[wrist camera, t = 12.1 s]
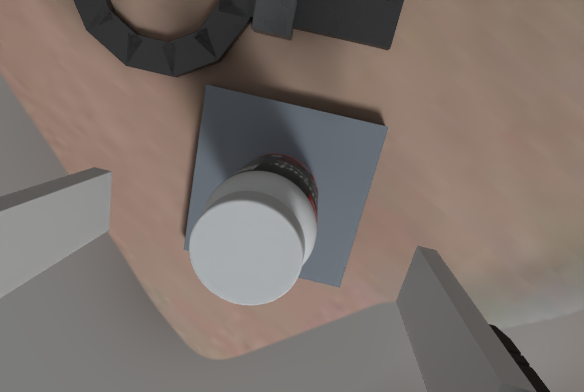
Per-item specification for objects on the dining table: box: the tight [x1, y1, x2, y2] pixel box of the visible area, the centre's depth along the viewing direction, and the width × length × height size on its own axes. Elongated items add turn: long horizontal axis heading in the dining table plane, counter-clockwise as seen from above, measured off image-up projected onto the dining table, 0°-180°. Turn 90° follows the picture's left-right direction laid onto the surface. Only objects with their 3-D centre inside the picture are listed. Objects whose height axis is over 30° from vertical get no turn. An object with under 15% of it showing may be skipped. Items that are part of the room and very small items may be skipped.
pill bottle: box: [189, 154, 318, 305], centre depth 18 cm, size 6×6×10 cm
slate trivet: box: [184, 85, 388, 287], centre depth 23 cm, size 12×12×1 cm
